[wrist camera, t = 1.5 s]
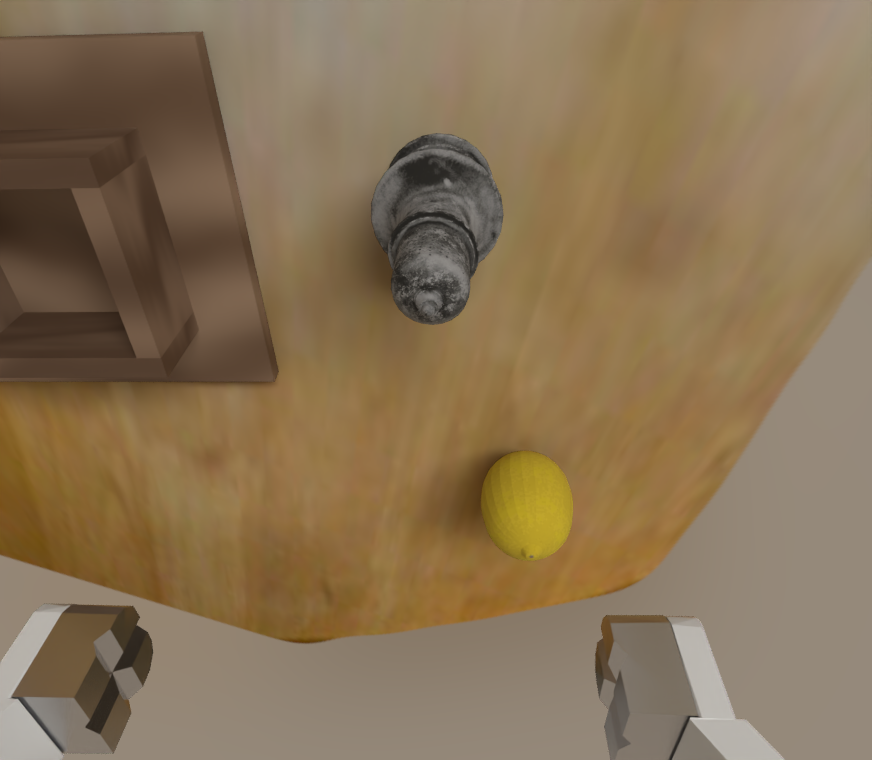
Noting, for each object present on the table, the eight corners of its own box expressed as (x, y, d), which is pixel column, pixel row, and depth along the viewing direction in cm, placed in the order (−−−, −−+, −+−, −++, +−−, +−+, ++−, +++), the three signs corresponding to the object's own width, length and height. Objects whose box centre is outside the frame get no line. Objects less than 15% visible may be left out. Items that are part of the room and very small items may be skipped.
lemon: (505, 413, 38) (513, 512, 32) (580, 444, 40) (602, 544, 33) (464, 469, 41) (465, 569, 35) (535, 495, 43) (548, 596, 36)
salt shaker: (443, 266, 32) (434, 411, 23) (355, 192, 30) (304, 317, 21) (524, 186, 30) (553, 312, 20) (435, 98, 27) (419, 191, 18)
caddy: (-197, 42, 27) (-326, 65, 23) (202, 31, 26) (149, 53, 22) (-9, 371, 38) (-72, 430, 33) (278, 371, 37) (253, 432, 33)
